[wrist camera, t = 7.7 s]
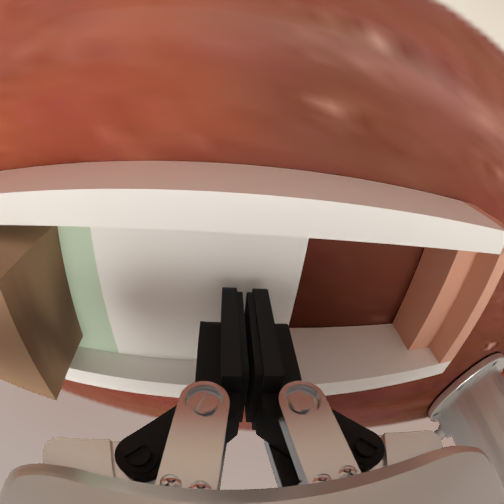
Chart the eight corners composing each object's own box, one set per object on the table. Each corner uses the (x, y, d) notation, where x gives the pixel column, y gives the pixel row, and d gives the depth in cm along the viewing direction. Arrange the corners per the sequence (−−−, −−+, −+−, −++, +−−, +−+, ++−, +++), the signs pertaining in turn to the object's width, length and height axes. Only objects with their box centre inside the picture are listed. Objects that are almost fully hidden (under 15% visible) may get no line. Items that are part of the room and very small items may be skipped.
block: (83, 335, 12) (56, 400, 8) (1, 315, 11) (-30, 364, 7) (56, 223, 9) (-2, 282, 5) (-29, 217, 8) (-81, 259, 5)
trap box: (417, 333, 17) (442, 372, 14) (20, 316, 14) (-6, 356, 11) (472, 204, 13) (518, 234, 9) (-20, 174, 9) (-67, 201, 6)
